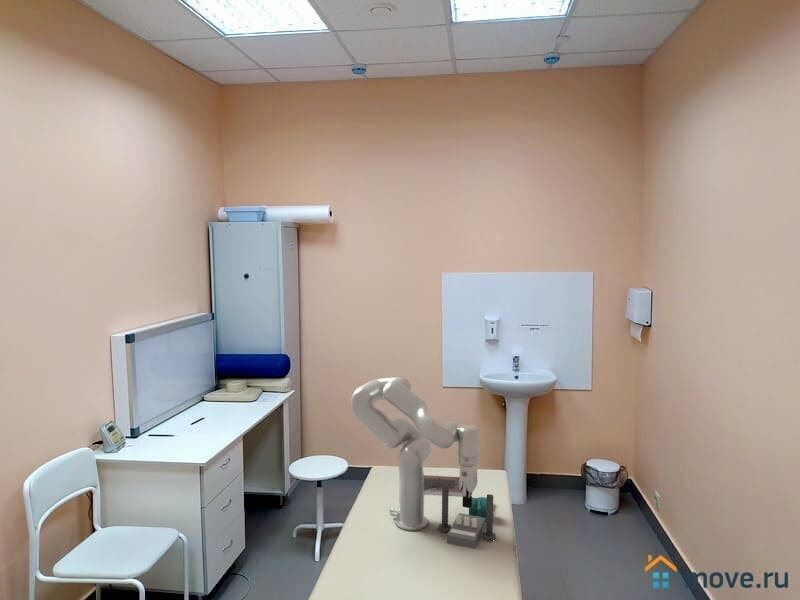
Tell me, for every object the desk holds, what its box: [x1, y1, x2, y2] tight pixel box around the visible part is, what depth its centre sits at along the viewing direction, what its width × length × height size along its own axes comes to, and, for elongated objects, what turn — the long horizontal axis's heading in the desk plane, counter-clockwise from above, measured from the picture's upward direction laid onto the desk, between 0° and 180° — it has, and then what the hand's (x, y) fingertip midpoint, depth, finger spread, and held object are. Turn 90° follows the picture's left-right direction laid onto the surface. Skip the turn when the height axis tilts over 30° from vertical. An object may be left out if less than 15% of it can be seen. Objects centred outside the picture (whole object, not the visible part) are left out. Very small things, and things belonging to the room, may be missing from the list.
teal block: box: [468, 496, 487, 524], centre depth 227 cm, size 18×7×8 cm, turn 163°
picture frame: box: [424, 474, 463, 497], centre depth 250 cm, size 16×2×22 cm
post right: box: [481, 493, 497, 542], centre depth 205 cm, size 5×5×16 cm
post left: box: [437, 487, 452, 534], centre depth 211 cm, size 5×5×16 cm
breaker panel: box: [446, 512, 486, 549], centre depth 209 cm, size 10×18×3 cm, turn 159°
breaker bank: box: [455, 514, 478, 528], centre depth 209 cm, size 8×1×3 cm, turn 69°
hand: (467, 506), depth 208 cm, fingers closed
